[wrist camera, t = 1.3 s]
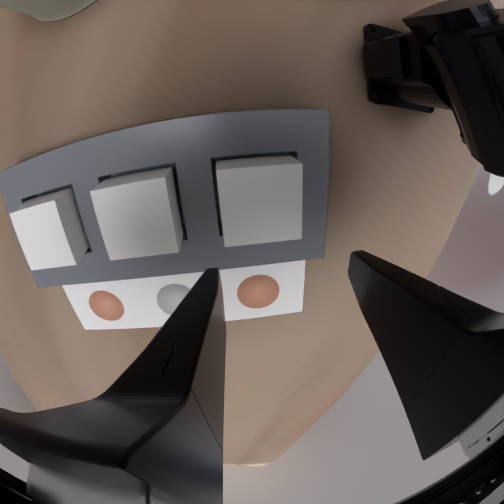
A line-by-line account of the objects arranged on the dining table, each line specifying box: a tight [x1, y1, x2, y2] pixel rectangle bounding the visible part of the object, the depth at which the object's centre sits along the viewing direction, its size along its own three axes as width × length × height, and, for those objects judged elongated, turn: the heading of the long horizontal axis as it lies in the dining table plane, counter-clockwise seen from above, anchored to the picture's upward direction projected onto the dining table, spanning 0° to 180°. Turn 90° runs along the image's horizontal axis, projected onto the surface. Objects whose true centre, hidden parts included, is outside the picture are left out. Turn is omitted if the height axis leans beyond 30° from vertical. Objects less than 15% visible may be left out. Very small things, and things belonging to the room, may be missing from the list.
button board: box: [0, 109, 330, 287], centre depth 17 cm, size 23×10×3 cm, turn 93°
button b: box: [216, 155, 303, 247], centre depth 15 cm, size 4×4×2 cm
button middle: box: [90, 167, 183, 261], centre depth 15 cm, size 4×4×2 cm
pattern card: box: [62, 260, 305, 330], centre depth 23 cm, size 22×6×1 cm, turn 93°
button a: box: [9, 187, 89, 271], centre depth 14 cm, size 4×4×2 cm
